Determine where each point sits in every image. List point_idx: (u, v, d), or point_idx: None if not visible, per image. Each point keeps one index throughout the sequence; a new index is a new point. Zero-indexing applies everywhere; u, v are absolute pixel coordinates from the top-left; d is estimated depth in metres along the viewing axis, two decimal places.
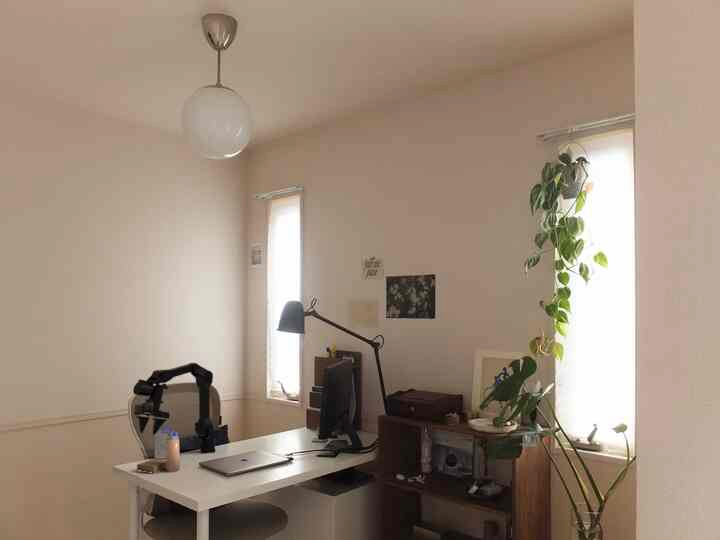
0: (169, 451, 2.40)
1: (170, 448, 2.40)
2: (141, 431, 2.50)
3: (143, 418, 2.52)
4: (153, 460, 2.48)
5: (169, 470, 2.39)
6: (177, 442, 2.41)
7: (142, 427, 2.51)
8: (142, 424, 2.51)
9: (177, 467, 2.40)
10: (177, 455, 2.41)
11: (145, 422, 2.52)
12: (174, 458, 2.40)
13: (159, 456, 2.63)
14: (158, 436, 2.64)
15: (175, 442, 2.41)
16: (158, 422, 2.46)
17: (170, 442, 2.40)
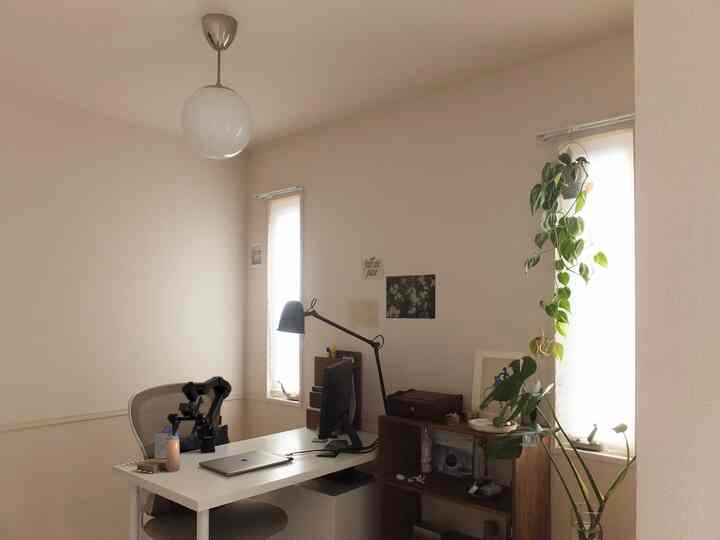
0: (169, 451, 2.40)
1: (170, 448, 2.40)
2: (173, 433, 2.51)
3: (176, 423, 2.56)
4: (153, 460, 2.48)
5: (169, 470, 2.39)
6: (177, 442, 2.41)
7: (174, 430, 2.53)
8: (174, 428, 2.54)
9: (177, 467, 2.40)
10: (177, 455, 2.41)
11: (176, 427, 2.55)
12: (174, 458, 2.40)
13: (159, 456, 2.63)
14: (158, 436, 2.64)
15: (175, 442, 2.41)
16: (198, 425, 2.53)
17: (170, 442, 2.40)
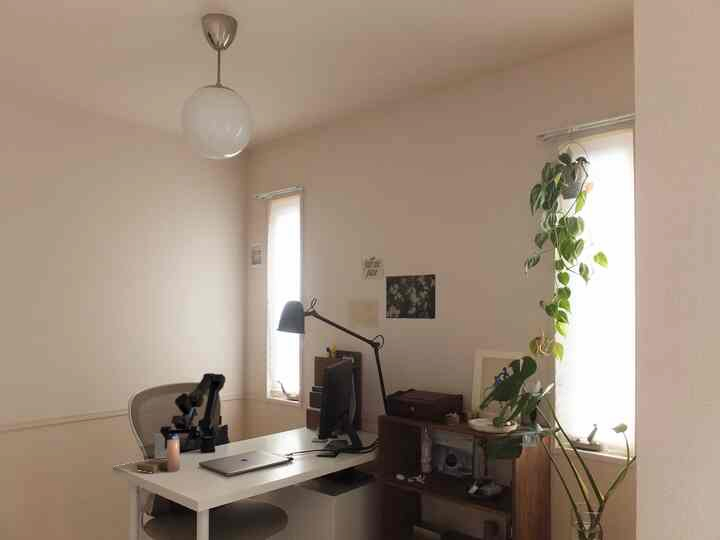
0: (169, 451, 2.40)
1: (170, 448, 2.40)
2: (165, 447, 2.45)
3: (169, 436, 2.49)
4: (153, 460, 2.48)
5: (169, 470, 2.39)
6: (177, 442, 2.41)
7: None
8: None
9: (177, 467, 2.40)
10: (177, 455, 2.41)
11: None
12: (174, 458, 2.40)
13: (159, 456, 2.63)
14: (158, 436, 2.64)
15: (175, 442, 2.41)
16: (191, 438, 2.47)
17: (170, 442, 2.40)
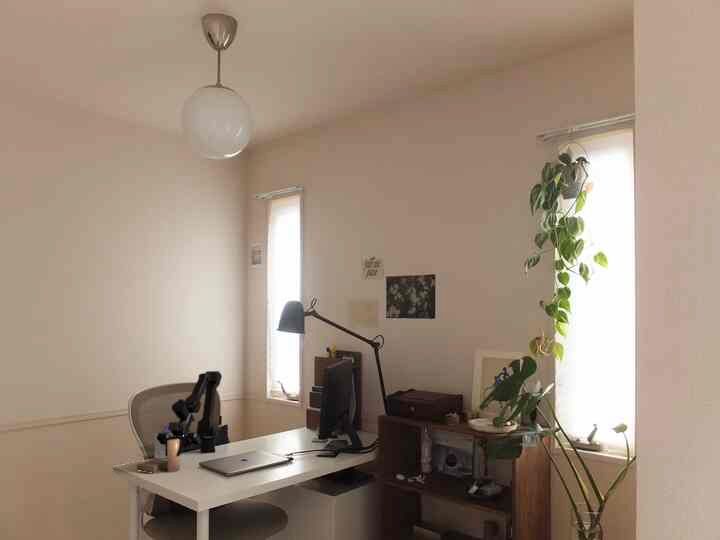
0: (169, 451, 2.40)
1: (170, 448, 2.40)
2: (166, 454, 2.41)
3: None
4: (153, 460, 2.48)
5: (169, 470, 2.39)
6: (177, 442, 2.41)
7: None
8: None
9: (177, 467, 2.40)
10: None
11: None
12: (174, 458, 2.40)
13: (159, 456, 2.63)
14: None
15: (175, 442, 2.41)
16: (184, 445, 2.44)
17: (170, 442, 2.40)
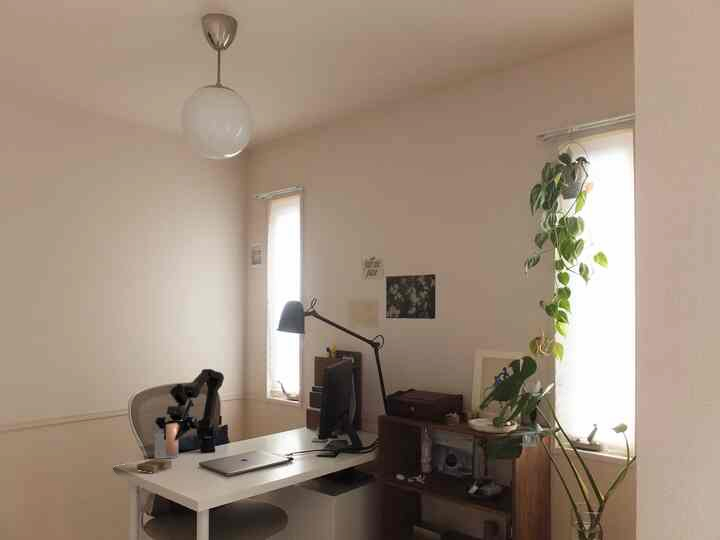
0: (167, 435, 2.41)
1: (168, 432, 2.41)
2: (165, 438, 2.42)
3: None
4: (153, 460, 2.48)
5: (167, 454, 2.40)
6: (175, 426, 2.42)
7: None
8: None
9: (175, 451, 2.41)
10: None
11: None
12: (172, 441, 2.40)
13: (159, 456, 2.63)
14: (158, 436, 2.64)
15: (173, 426, 2.41)
16: (182, 429, 2.45)
17: (168, 426, 2.41)
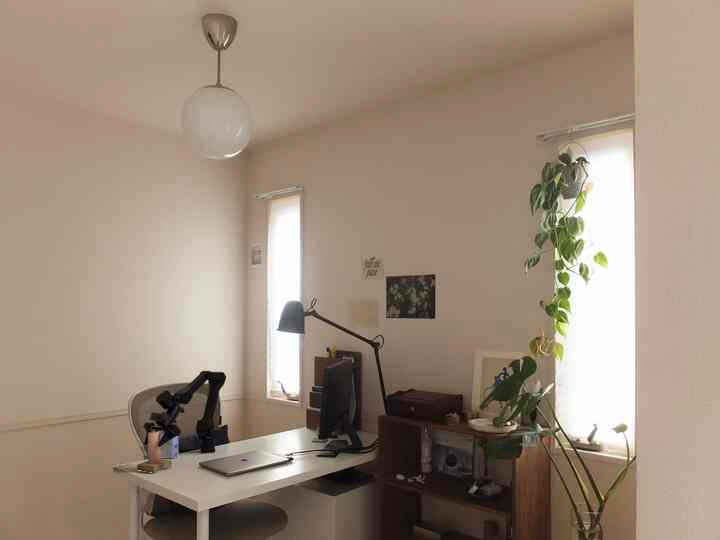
0: (149, 443, 2.43)
1: (149, 440, 2.43)
2: (145, 443, 2.46)
3: None
4: None
5: (149, 462, 2.43)
6: (156, 435, 2.44)
7: (147, 440, 2.47)
8: None
9: (156, 459, 2.43)
10: (156, 447, 2.43)
11: None
12: (153, 450, 2.43)
13: None
14: None
15: (154, 435, 2.43)
16: (167, 436, 2.45)
17: (149, 434, 2.43)
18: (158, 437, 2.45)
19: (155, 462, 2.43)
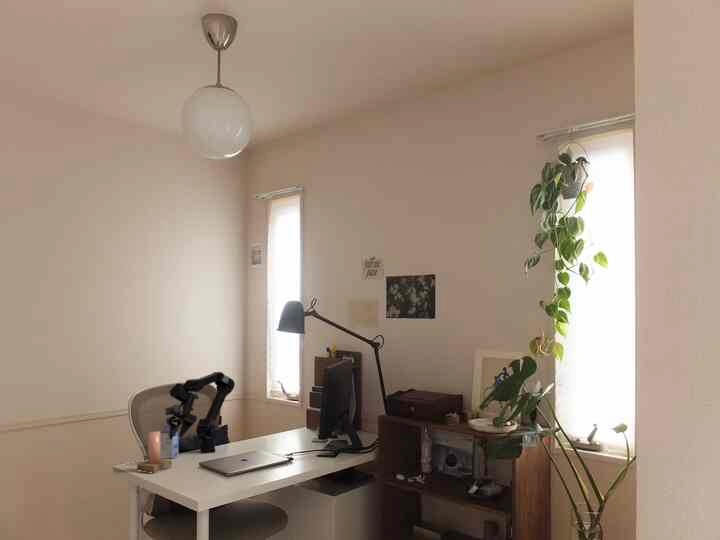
0: (149, 443, 2.43)
1: (149, 440, 2.43)
2: (170, 437, 2.57)
3: (174, 425, 2.60)
4: None
5: (149, 462, 2.43)
6: (156, 435, 2.44)
7: (172, 433, 2.58)
8: (172, 431, 2.59)
9: (156, 459, 2.43)
10: (156, 447, 2.43)
11: (175, 429, 2.60)
12: (153, 450, 2.43)
13: None
14: None
15: (154, 435, 2.43)
16: (185, 425, 2.53)
17: (149, 434, 2.43)
18: (158, 437, 2.45)
19: (155, 462, 2.43)
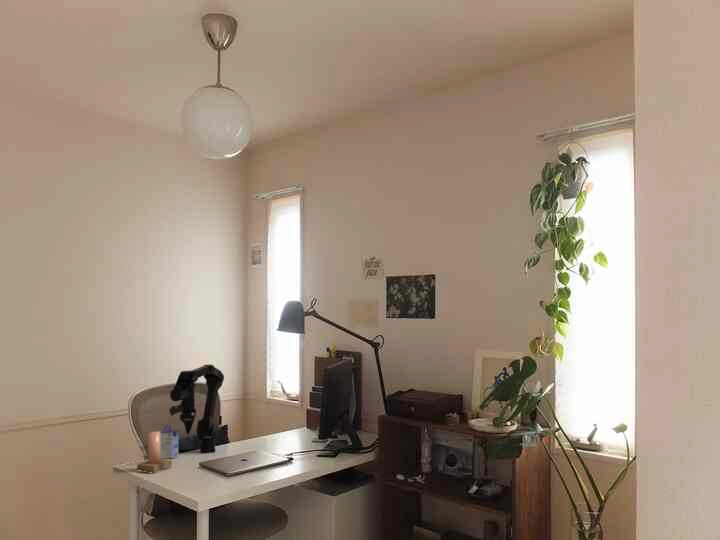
0: (149, 443, 2.43)
1: (150, 440, 2.43)
2: None
3: None
4: None
5: (149, 462, 2.43)
6: (157, 435, 2.44)
7: None
8: None
9: (156, 459, 2.43)
10: (156, 448, 2.43)
11: None
12: (153, 450, 2.43)
13: None
14: None
15: (154, 435, 2.43)
16: (188, 422, 2.53)
17: (150, 434, 2.43)
18: (158, 437, 2.45)
19: (155, 462, 2.43)
